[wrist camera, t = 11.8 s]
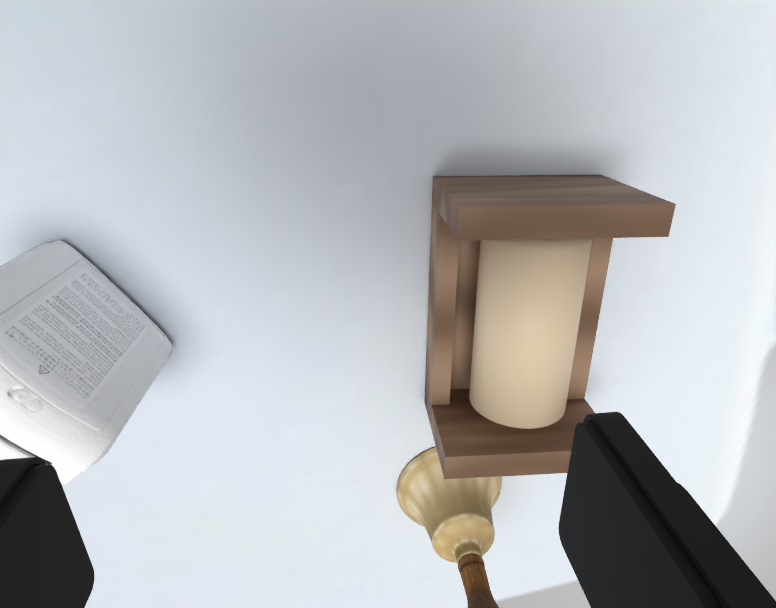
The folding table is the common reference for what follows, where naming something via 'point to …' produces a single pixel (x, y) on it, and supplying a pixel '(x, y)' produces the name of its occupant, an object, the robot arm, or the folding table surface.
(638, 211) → the roll cradle
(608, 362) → the folding table surface
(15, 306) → the photo printer
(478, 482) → the hand bell
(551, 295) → the paper roll
